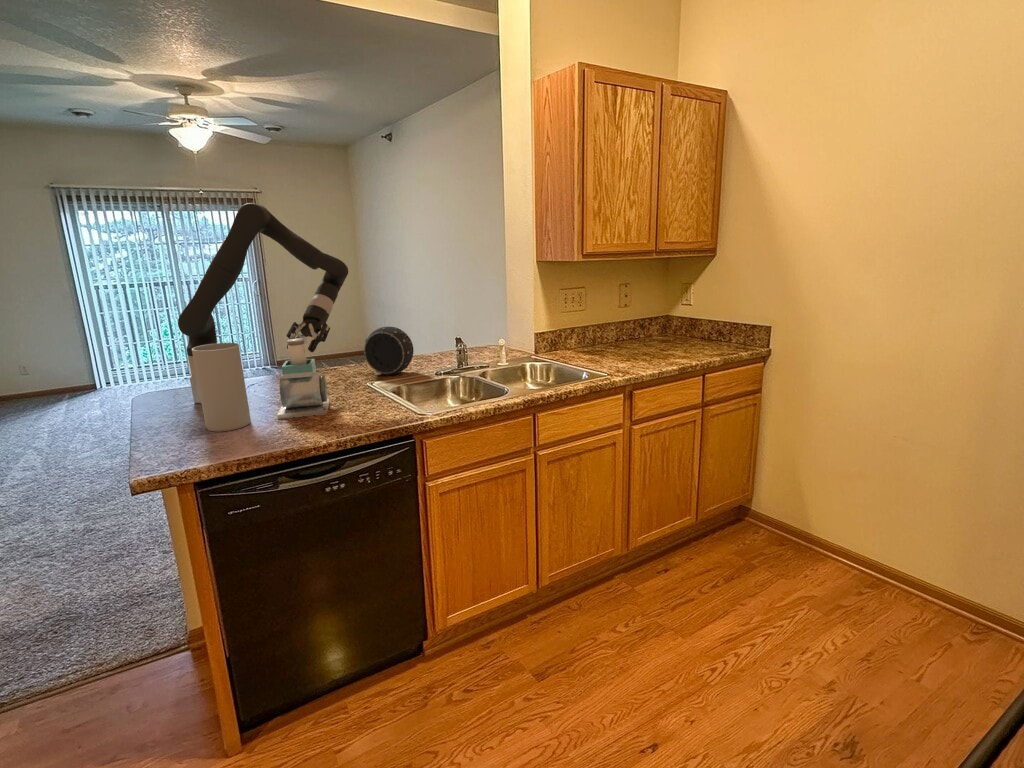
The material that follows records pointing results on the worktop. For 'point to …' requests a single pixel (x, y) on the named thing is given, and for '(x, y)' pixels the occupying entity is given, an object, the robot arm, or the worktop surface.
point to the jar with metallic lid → (297, 351)
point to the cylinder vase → (221, 386)
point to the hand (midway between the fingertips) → (299, 350)
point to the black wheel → (388, 350)
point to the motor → (302, 391)
